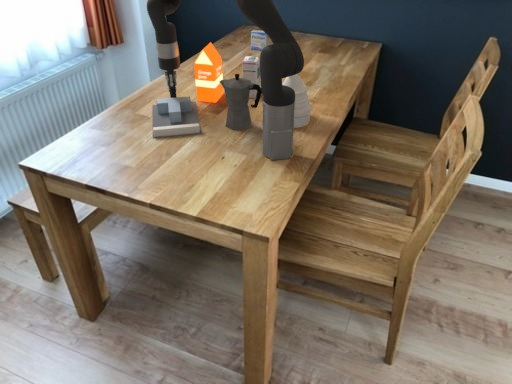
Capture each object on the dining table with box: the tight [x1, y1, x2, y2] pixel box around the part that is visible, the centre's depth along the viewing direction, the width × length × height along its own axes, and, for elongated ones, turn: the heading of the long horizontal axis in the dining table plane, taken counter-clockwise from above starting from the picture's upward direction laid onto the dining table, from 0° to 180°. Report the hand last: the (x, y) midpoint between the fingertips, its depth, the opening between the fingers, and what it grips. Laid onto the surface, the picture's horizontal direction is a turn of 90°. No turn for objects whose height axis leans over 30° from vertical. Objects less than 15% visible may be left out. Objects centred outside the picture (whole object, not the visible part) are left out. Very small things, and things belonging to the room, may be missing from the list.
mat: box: [151, 101, 203, 140], centre depth 154 cm, size 26×16×1 cm, turn 11°
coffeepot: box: [219, 73, 263, 131], centre depth 145 cm, size 15×9×18 cm, turn 66°
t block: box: [156, 95, 192, 123], centre depth 155 cm, size 12×12×4 cm
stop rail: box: [152, 123, 201, 137], centre depth 144 cm, size 2×15×2 cm, turn 101°
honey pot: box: [282, 73, 312, 129], centre depth 148 cm, size 13×13×18 cm
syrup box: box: [241, 55, 261, 99], centre depth 166 cm, size 6×6×14 cm
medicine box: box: [250, 29, 270, 51], centre depth 213 cm, size 8×4×9 cm, turn 73°
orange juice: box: [193, 42, 224, 104], centre depth 163 cm, size 8×9×20 cm
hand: (173, 100), depth 164 cm, fingers closed
